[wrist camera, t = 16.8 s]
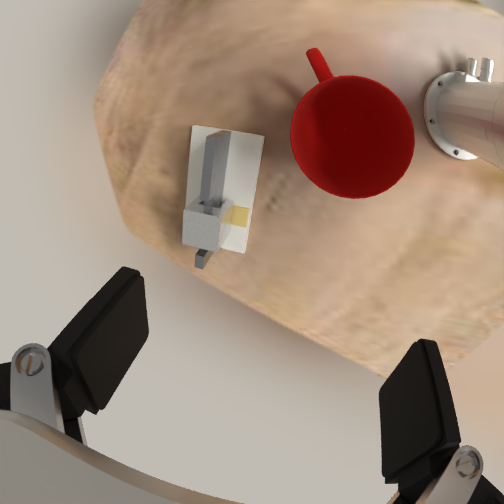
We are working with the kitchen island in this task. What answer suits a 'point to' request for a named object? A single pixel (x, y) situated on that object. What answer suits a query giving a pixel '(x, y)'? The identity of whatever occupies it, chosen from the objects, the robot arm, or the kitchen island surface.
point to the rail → (213, 179)
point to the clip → (206, 225)
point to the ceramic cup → (351, 134)
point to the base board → (230, 178)
